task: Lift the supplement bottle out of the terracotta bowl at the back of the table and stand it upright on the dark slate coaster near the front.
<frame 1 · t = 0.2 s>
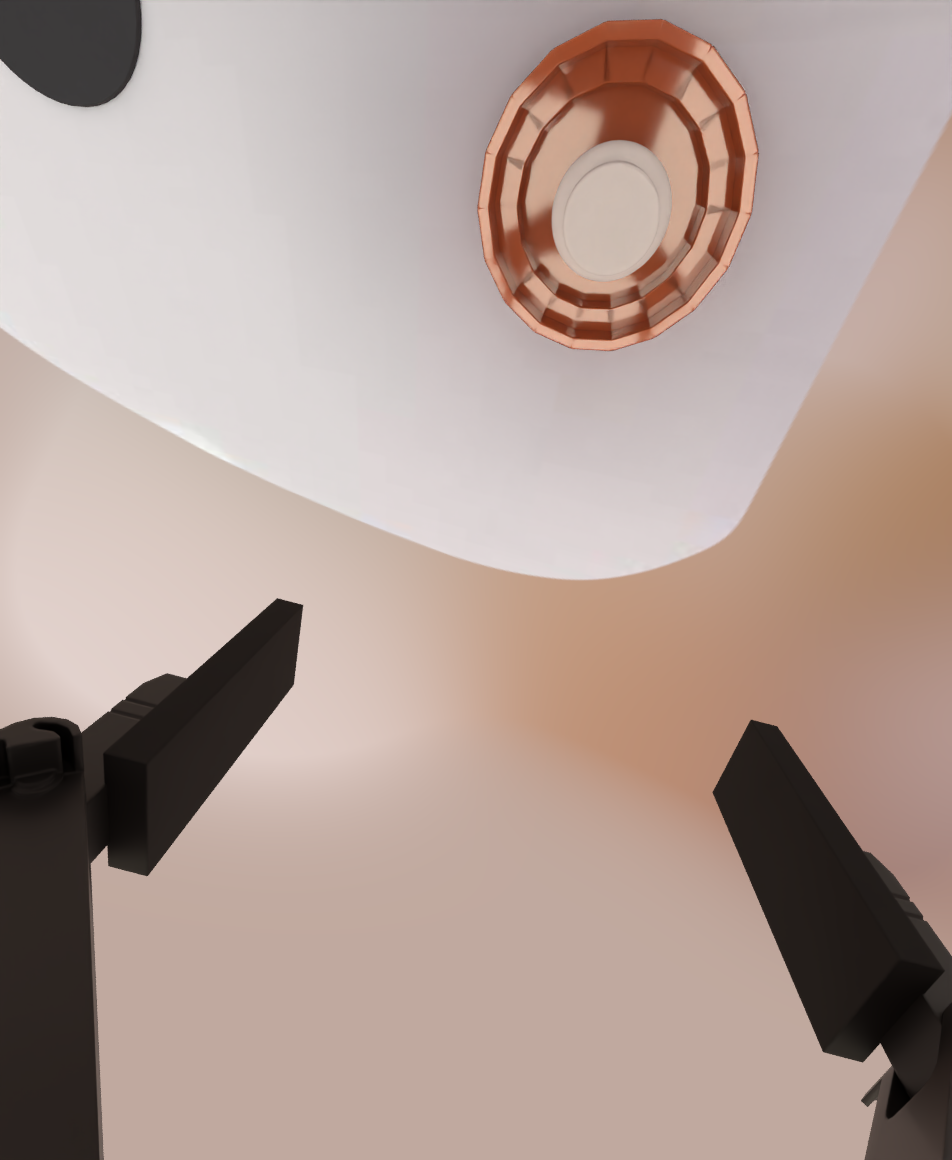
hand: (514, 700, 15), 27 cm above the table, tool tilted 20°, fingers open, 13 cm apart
bowl: (608, 203, 30), on the table
supplement bottle: (608, 204, 30), resting on bowl
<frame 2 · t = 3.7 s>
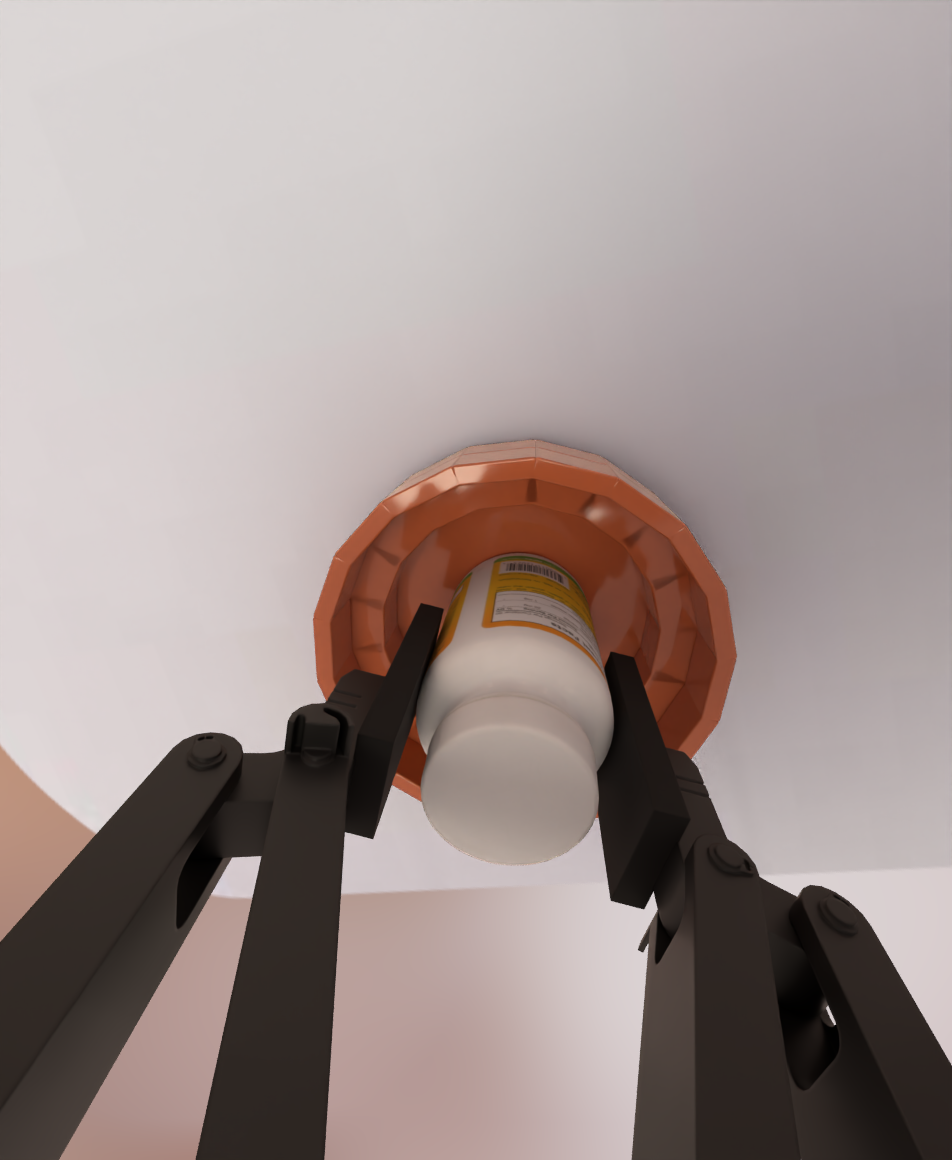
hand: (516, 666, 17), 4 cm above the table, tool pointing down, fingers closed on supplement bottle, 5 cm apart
bowl: (519, 610, 21), on the table
supplement bottle: (519, 613, 21), resting on bowl, touching gripper
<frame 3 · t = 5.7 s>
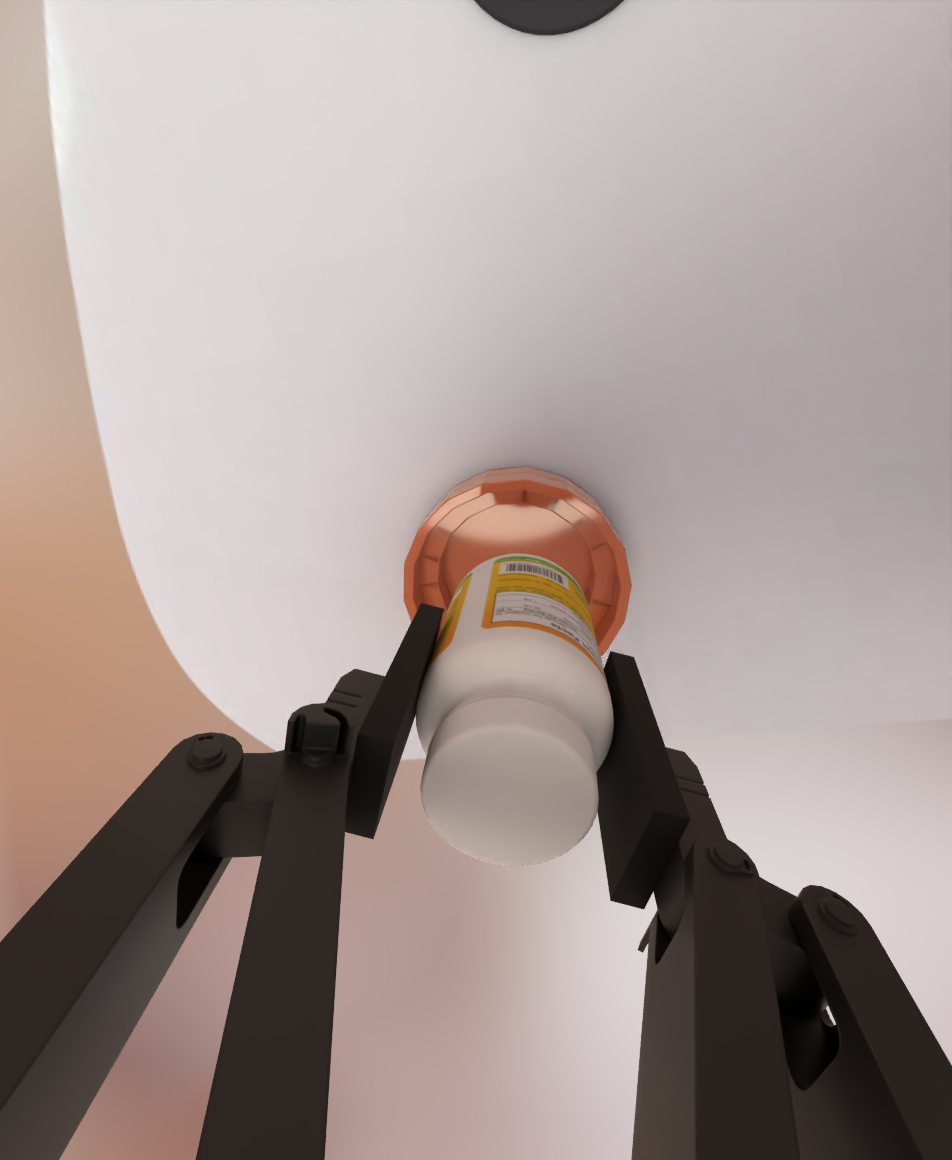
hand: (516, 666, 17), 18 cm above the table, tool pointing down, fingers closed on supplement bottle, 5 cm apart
bowl: (516, 566, 35), on the table
supplement bottle: (519, 613, 21), point 14 cm above the table, touching gripper
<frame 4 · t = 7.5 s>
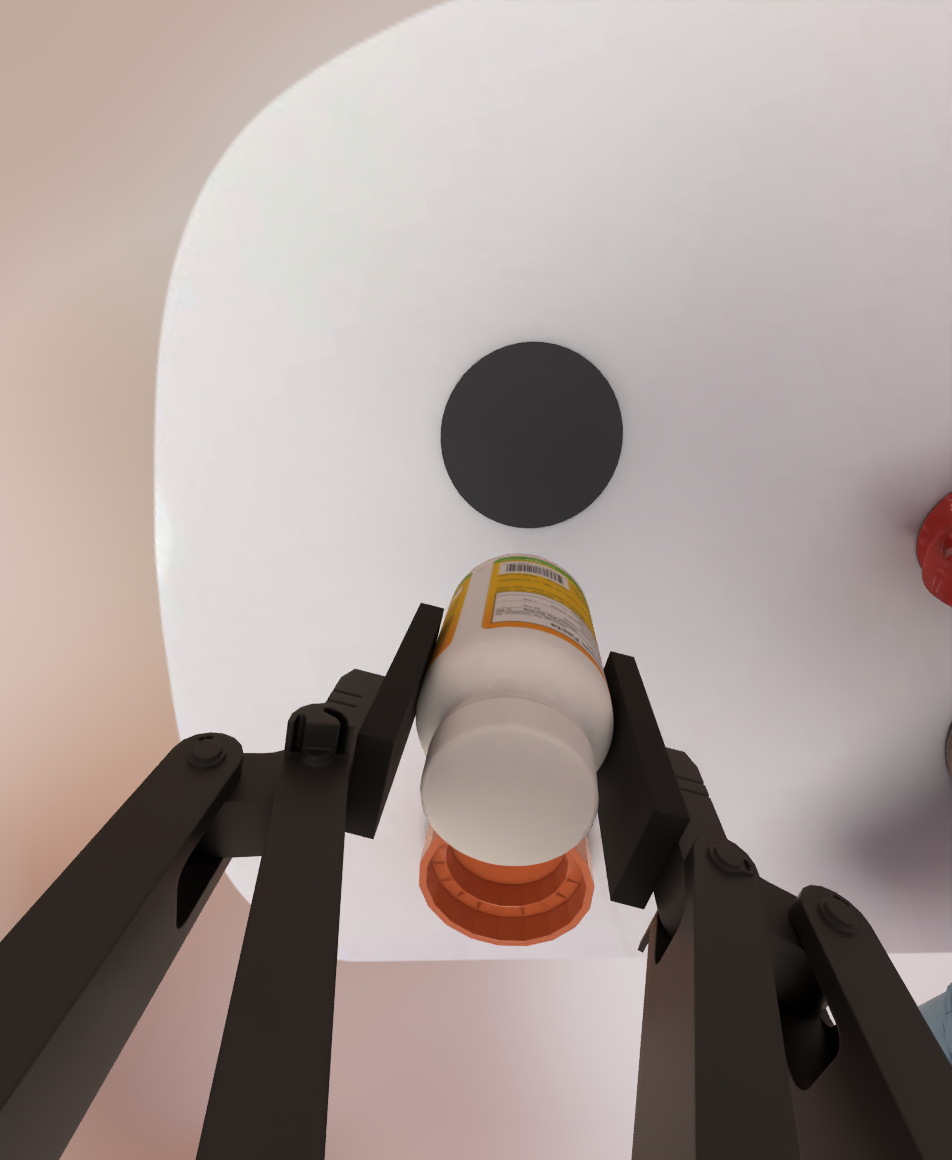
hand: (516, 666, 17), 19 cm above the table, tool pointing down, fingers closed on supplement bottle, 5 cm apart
bowl: (507, 838, 45), on the table
mug: (949, 530, 32), on the table
supplement bottle: (519, 613, 21), point 15 cm above the table, touching gripper
coaster: (530, 440, 33), on the table
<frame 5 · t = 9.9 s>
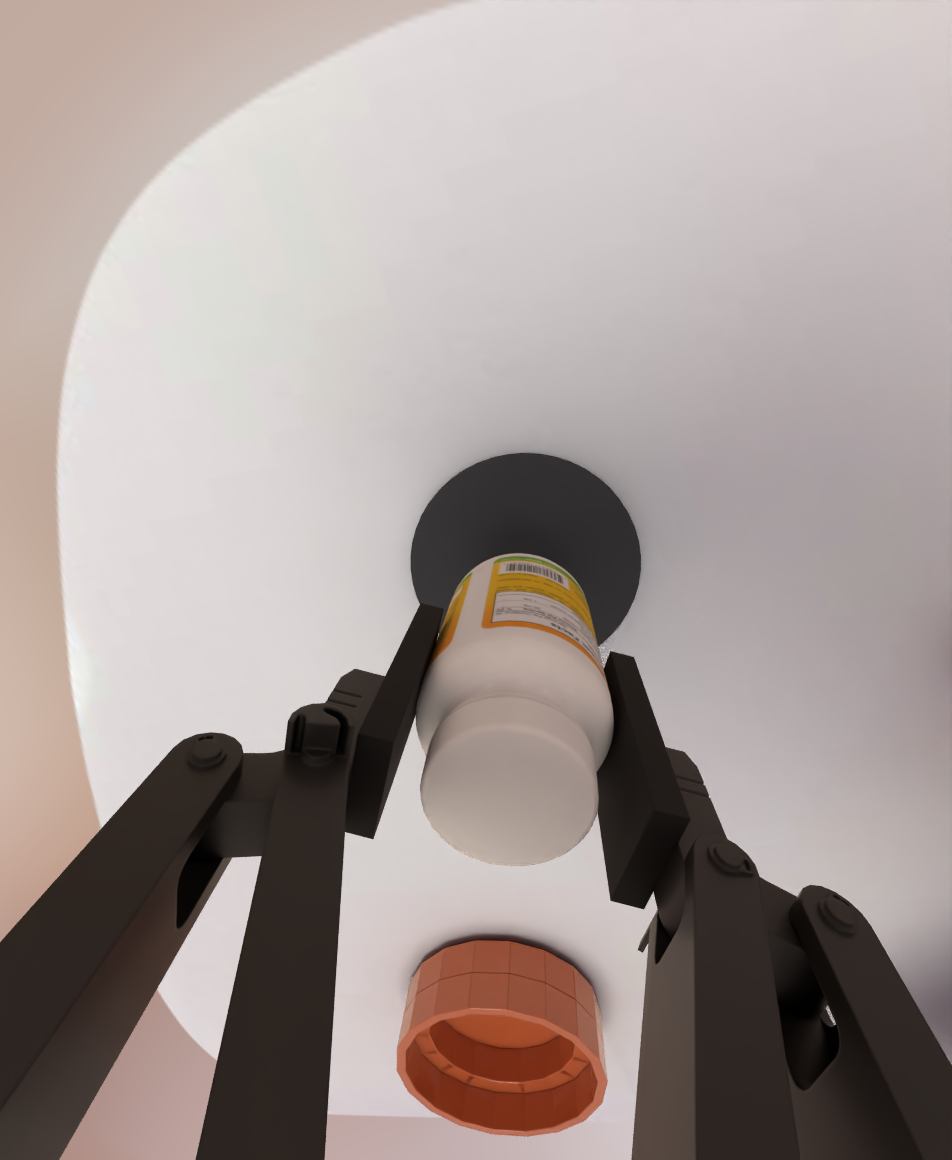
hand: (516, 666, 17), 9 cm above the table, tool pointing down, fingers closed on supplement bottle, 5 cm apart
bowl: (503, 999, 38), on the table
supplement bottle: (519, 613, 21), point 5 cm above the table, touching gripper
coaster: (523, 567, 26), on the table
when the fingers open (4 cm above the table, at t = 11.5 s): supplement bottle stays where it is, resting on coaster.
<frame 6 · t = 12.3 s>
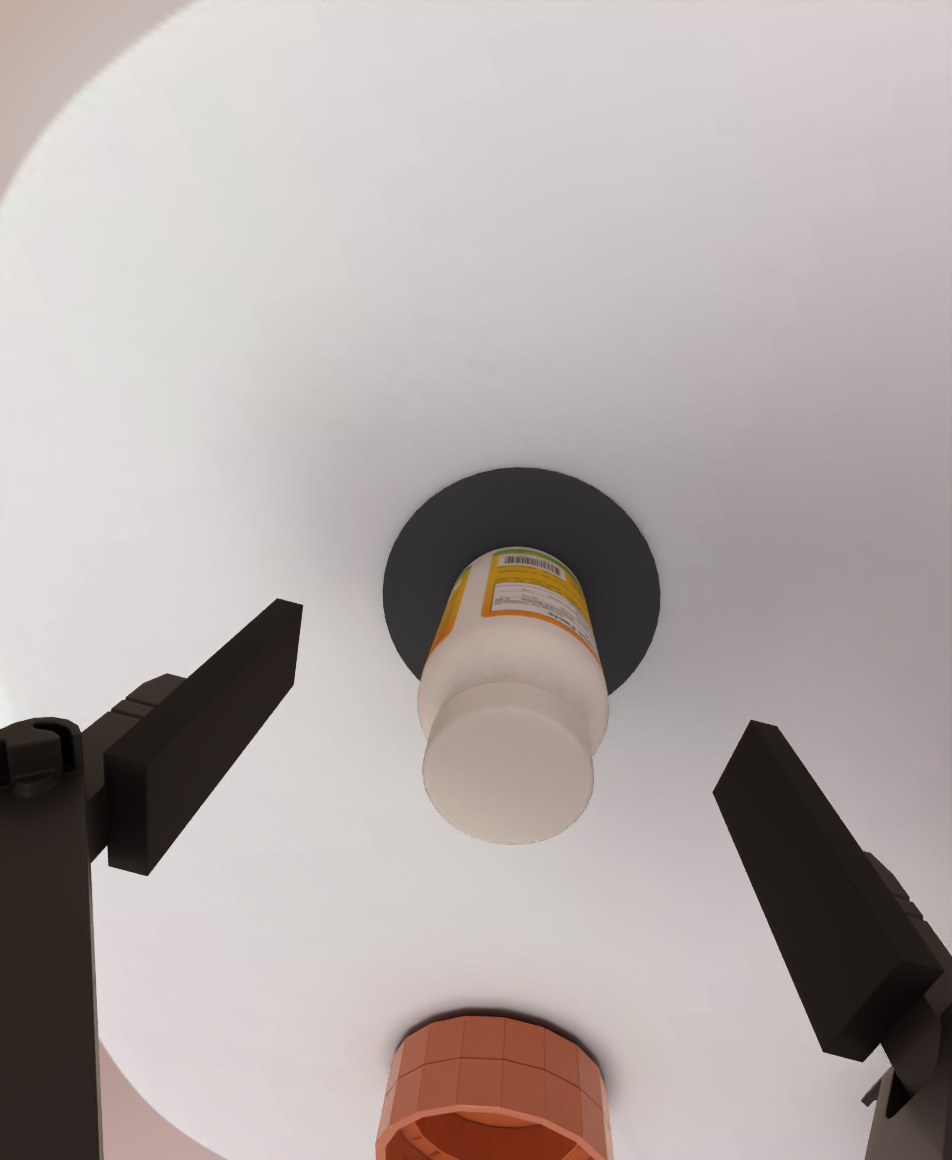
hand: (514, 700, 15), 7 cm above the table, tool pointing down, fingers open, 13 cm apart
bowl: (497, 1075, 34), on the table
supplement bottle: (517, 605, 21), resting on coaster
coaster: (518, 604, 22), on the table
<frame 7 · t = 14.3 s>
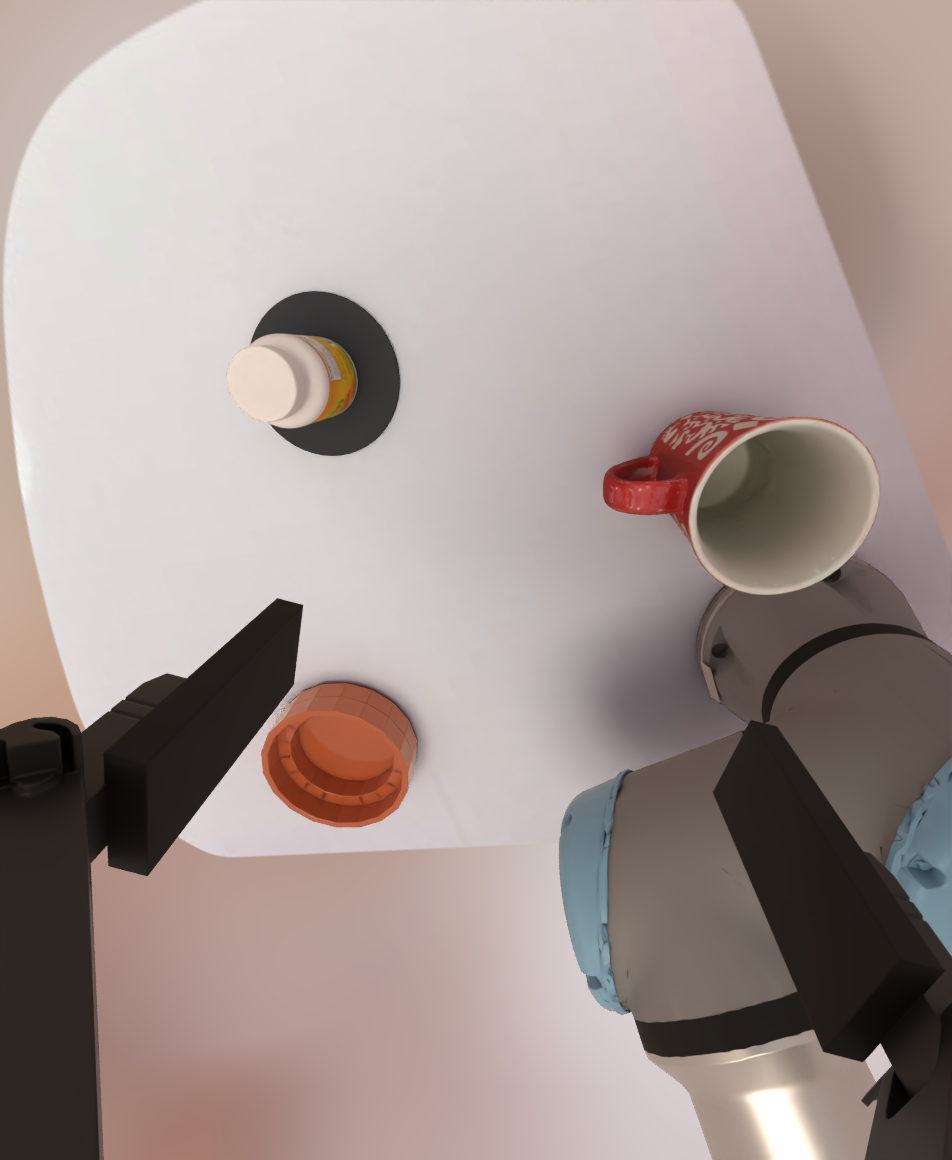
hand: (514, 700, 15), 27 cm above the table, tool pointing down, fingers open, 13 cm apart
bowl: (349, 738, 51), on the table
mug: (674, 459, 39), on the table
supplement bottle: (323, 377, 38), resting on coaster
coaster: (324, 378, 39), on the table
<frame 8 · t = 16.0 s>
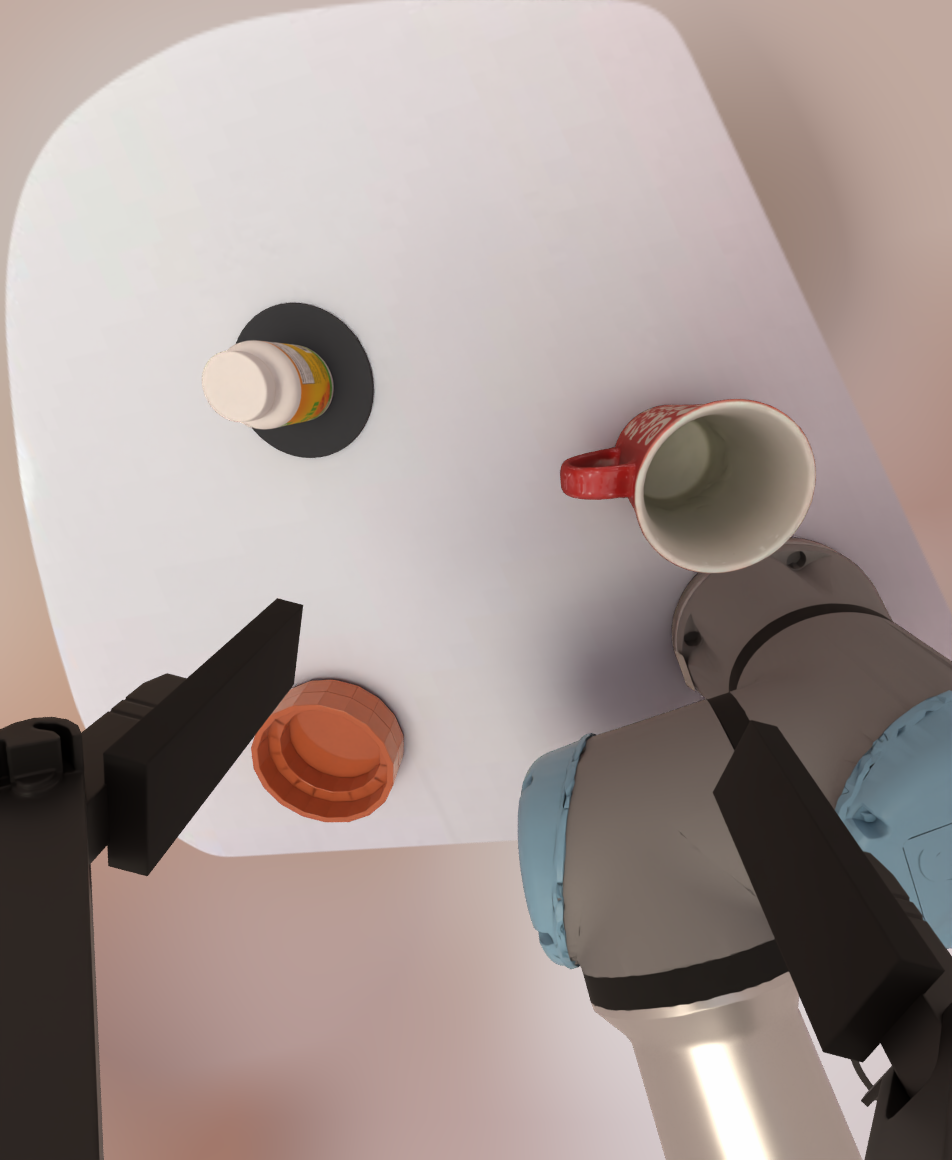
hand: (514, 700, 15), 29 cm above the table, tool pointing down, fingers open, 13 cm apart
bowl: (338, 735, 53), on the table
mug: (639, 452, 40), on the table
supplement bottle: (301, 383, 40), resting on coaster
coaster: (303, 384, 41), on the table
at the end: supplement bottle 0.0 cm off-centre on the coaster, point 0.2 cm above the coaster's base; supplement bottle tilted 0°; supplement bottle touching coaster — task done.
